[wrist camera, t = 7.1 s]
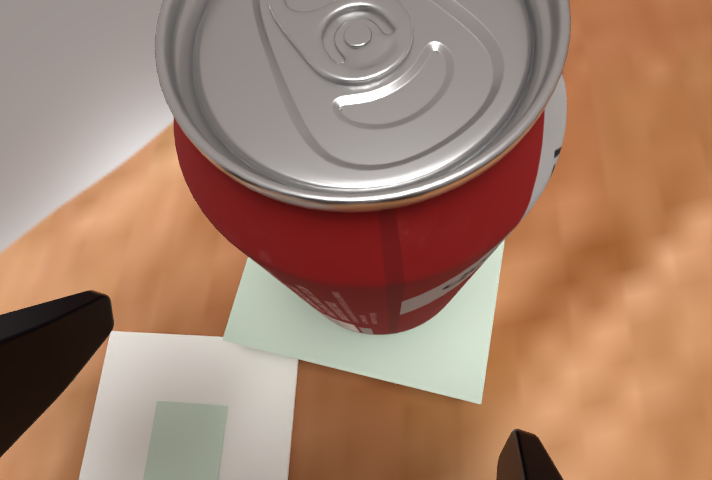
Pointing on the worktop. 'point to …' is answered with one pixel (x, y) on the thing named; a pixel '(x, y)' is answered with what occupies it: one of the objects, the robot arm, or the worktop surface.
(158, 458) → the page
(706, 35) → the worktop surface
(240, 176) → the soda can
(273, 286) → the base brick
